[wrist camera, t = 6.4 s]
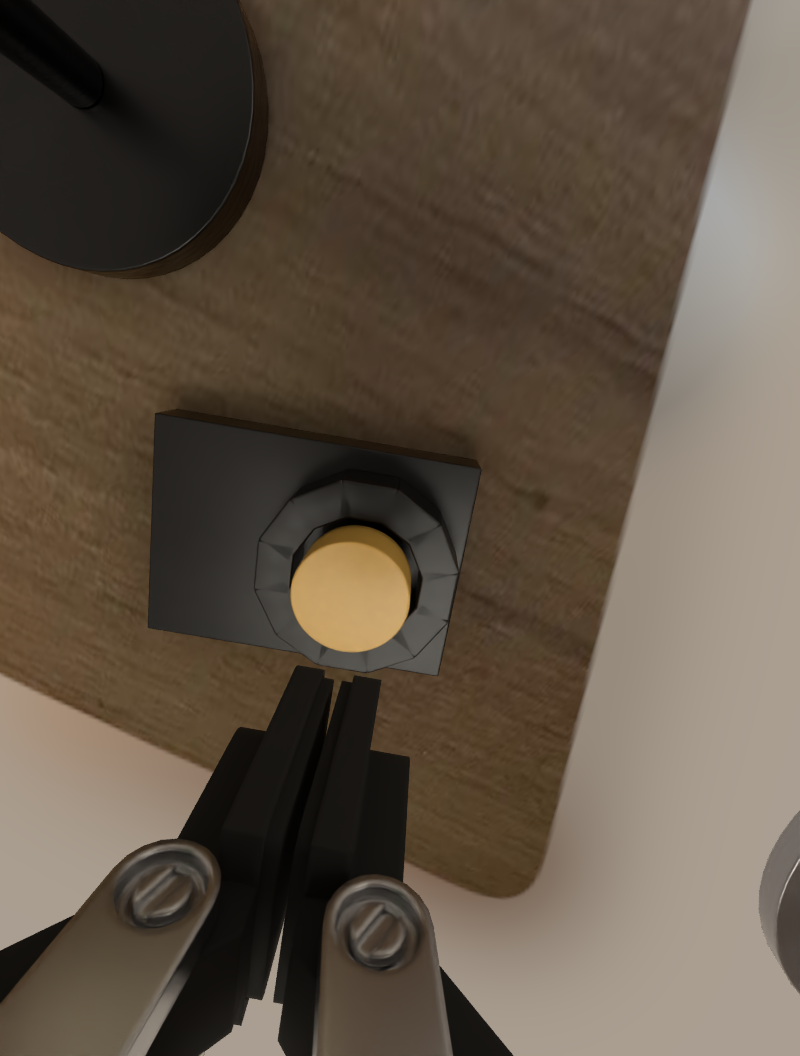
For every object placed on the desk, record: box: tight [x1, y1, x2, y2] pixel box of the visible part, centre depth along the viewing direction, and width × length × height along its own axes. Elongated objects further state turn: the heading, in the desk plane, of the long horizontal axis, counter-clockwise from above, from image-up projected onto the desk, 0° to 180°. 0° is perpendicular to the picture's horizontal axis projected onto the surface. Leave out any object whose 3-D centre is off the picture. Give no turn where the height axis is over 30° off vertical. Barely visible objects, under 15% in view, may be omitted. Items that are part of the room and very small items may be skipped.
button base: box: [148, 409, 482, 676], centre depth 19 cm, size 11×8×4 cm
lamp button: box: [290, 525, 411, 652], centre depth 17 cm, size 4×4×2 cm
